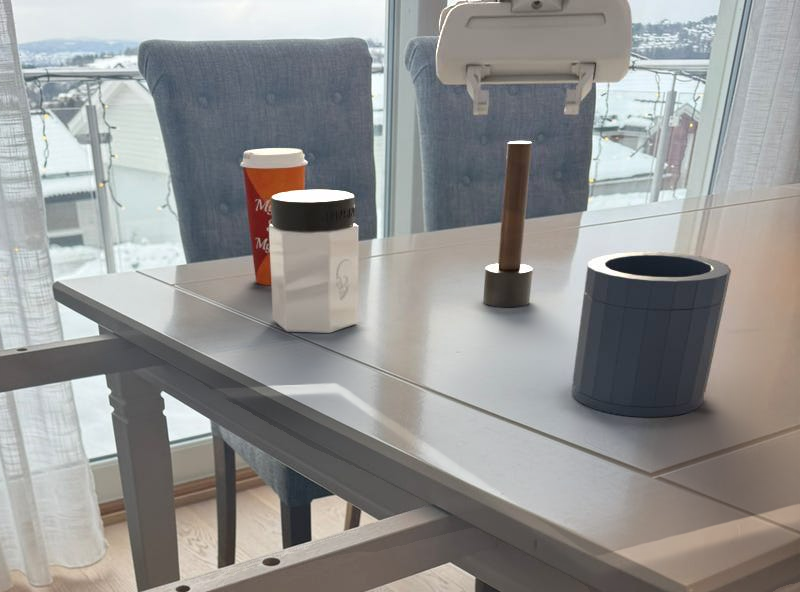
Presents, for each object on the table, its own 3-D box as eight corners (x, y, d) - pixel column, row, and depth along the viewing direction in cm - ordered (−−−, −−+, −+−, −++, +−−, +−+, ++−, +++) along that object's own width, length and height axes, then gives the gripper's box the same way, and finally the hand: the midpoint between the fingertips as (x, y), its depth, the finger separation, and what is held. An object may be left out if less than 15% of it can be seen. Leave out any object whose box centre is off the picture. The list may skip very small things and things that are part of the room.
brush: (512, 294, 105) (526, 138, 96) (538, 304, 101) (555, 142, 92) (474, 299, 103) (485, 141, 95) (499, 309, 99) (512, 146, 91)
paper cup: (260, 290, 109) (253, 156, 101) (238, 277, 115) (230, 150, 107) (321, 283, 111) (319, 151, 104) (296, 270, 117) (292, 145, 109)
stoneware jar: (643, 369, 81) (664, 247, 76) (730, 404, 73) (761, 271, 68) (546, 387, 78) (561, 260, 72) (626, 425, 70) (649, 287, 64)
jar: (317, 339, 91) (314, 205, 85) (257, 325, 96) (250, 198, 89) (373, 319, 97) (374, 193, 90) (314, 308, 101) (311, 186, 95)
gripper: (440, -24, 99) (424, 88, 97) (640, -31, 95) (629, 85, 92) (443, 26, 105) (428, 132, 103) (631, 21, 101) (620, 132, 98)
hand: (525, 110), depth 97 cm, fingers open, 8 cm apart
